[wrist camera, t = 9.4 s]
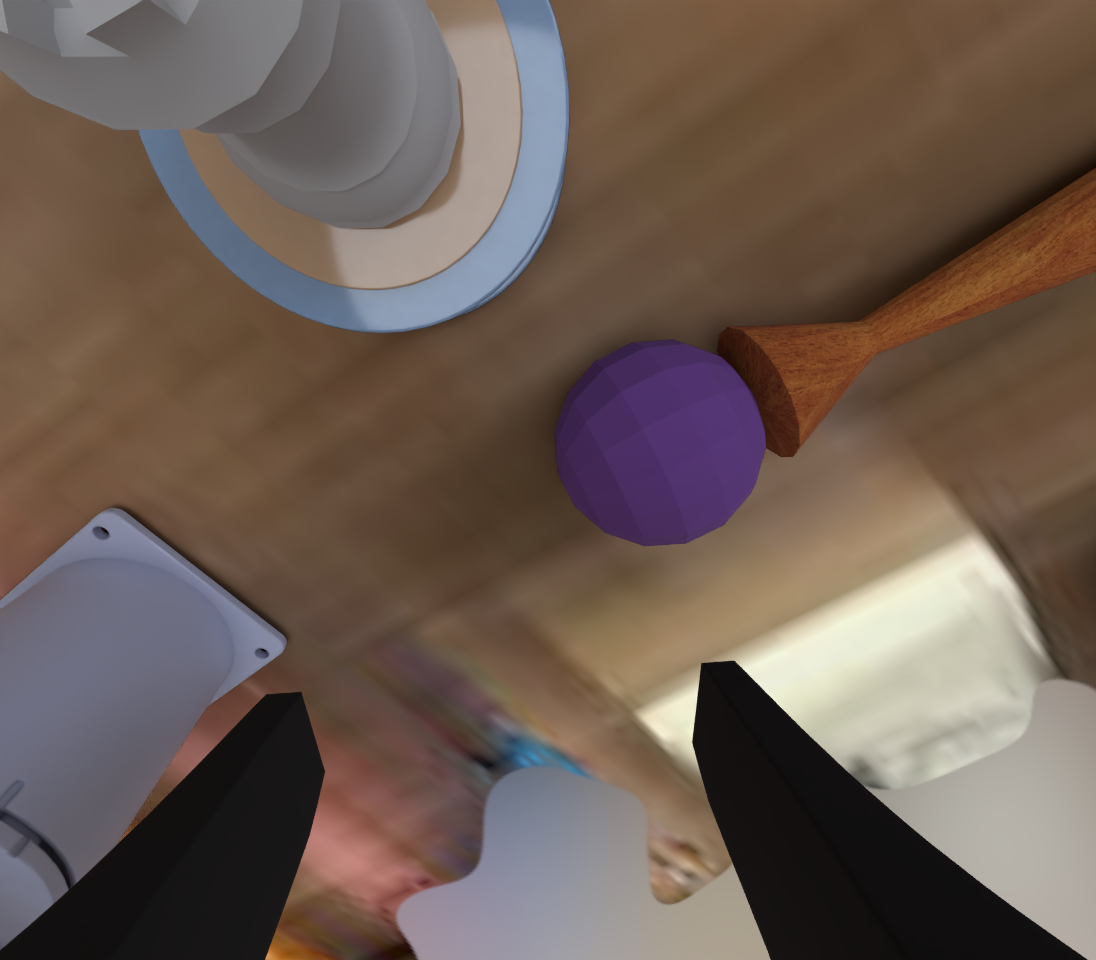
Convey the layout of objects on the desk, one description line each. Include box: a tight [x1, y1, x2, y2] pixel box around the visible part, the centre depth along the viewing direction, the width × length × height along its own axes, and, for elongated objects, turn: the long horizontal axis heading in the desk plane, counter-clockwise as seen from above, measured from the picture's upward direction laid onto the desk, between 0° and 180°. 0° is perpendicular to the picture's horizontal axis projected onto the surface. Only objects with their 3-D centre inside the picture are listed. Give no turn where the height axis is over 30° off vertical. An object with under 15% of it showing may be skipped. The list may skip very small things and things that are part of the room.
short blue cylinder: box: [138, 0, 570, 333], centre depth 13 cm, size 9×9×5 cm
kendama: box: [555, 168, 1096, 546], centre depth 15 cm, size 6×6×20 cm
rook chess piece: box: [0, 0, 461, 228], centre depth 7 cm, size 4×4×8 cm
